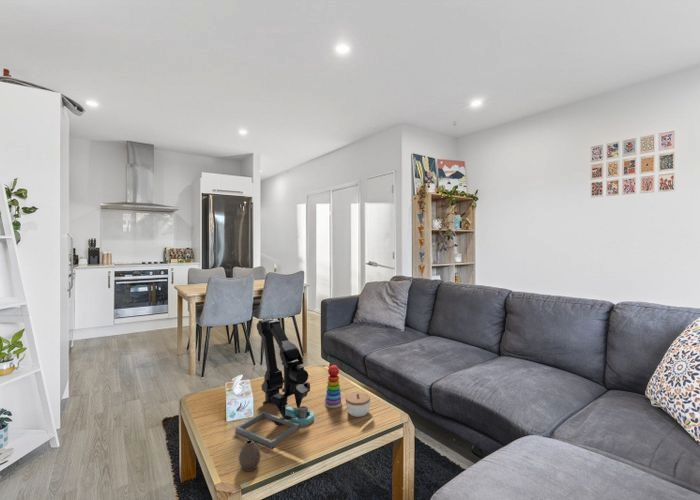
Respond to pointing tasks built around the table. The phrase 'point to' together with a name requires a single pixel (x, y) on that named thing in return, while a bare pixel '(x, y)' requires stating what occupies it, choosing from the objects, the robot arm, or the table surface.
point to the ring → (294, 414)
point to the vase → (249, 456)
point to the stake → (303, 415)
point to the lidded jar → (358, 403)
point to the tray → (260, 439)
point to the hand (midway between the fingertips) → (291, 412)
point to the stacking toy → (333, 388)
